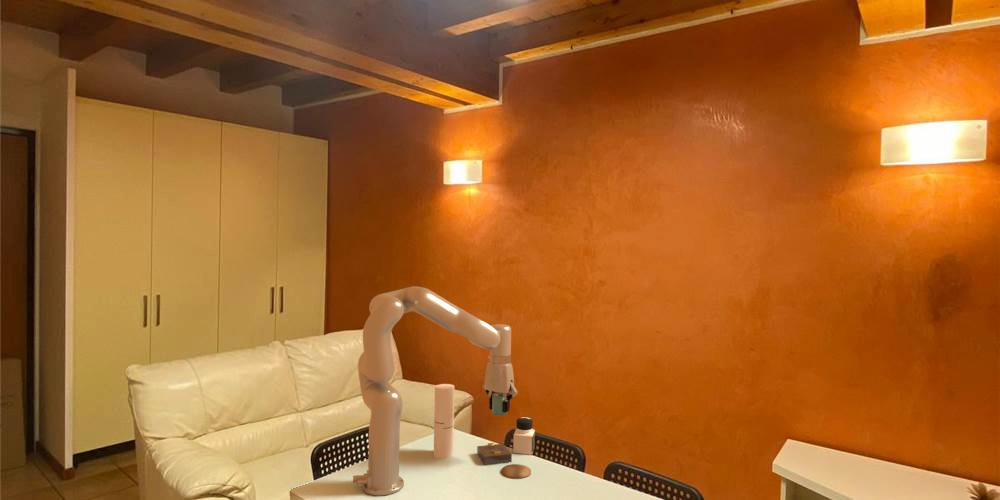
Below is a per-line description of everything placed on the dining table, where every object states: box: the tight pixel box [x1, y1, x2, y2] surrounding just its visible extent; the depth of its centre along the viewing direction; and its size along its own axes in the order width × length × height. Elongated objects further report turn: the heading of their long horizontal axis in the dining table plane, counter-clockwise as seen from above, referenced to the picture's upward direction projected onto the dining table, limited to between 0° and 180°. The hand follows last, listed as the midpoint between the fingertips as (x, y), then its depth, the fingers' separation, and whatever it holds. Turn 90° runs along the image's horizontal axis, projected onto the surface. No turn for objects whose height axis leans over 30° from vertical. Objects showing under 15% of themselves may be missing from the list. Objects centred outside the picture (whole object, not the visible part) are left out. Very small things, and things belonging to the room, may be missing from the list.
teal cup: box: [491, 392, 508, 417], centre depth 179 cm, size 5×5×7 cm
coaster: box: [501, 463, 532, 480], centre depth 170 cm, size 10×10×1 cm
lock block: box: [476, 442, 513, 466], centre depth 182 cm, size 10×10×4 cm
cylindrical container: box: [433, 383, 455, 460], centre depth 184 cm, size 7×7×25 cm
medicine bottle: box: [512, 416, 536, 456], centre depth 189 cm, size 7×7×12 cm
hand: (499, 409), depth 179 cm, fingers closed on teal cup, 5 cm apart
